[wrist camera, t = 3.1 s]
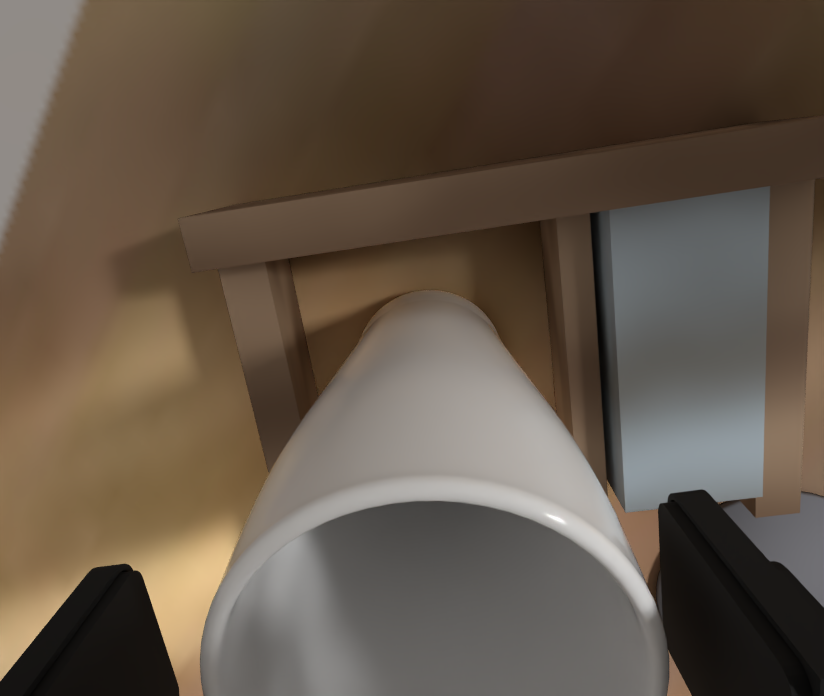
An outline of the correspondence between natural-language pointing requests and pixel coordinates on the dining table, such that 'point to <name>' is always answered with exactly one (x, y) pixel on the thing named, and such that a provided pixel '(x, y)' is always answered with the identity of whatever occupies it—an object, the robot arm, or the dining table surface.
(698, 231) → the walnut cubby
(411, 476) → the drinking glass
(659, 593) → the felt coaster
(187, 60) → the dining table surface
